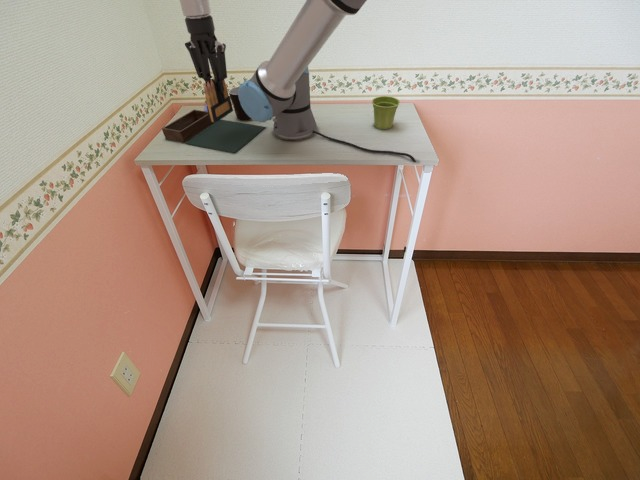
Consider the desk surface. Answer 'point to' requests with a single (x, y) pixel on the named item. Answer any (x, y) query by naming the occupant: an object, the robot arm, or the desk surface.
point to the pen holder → (187, 126)
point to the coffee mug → (238, 105)
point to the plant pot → (384, 111)
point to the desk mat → (226, 136)
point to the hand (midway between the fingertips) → (218, 101)
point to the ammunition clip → (213, 107)
